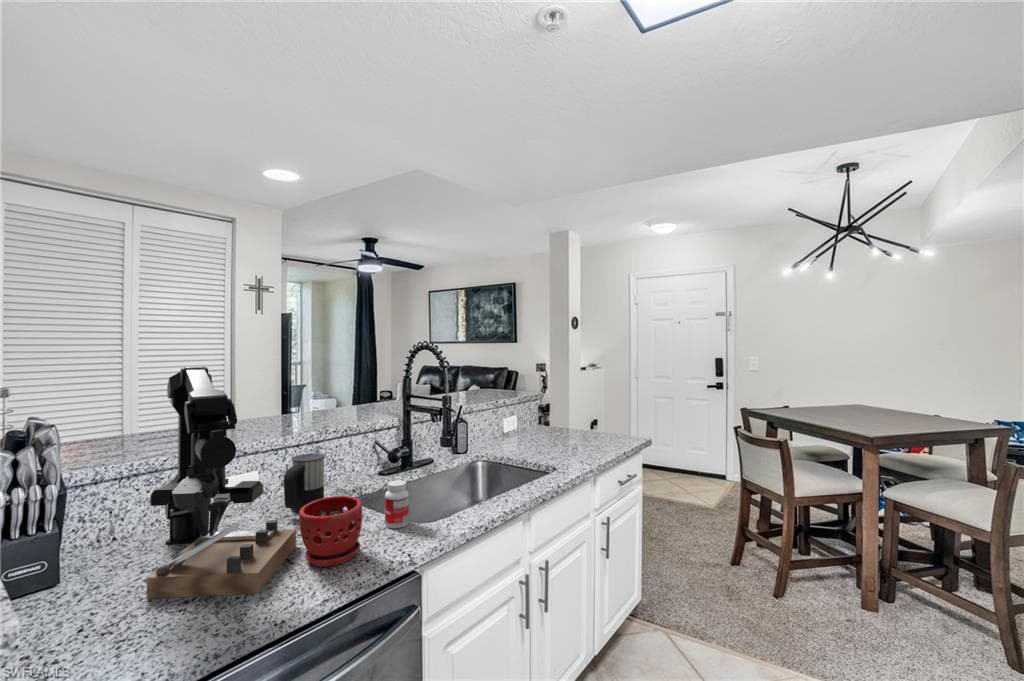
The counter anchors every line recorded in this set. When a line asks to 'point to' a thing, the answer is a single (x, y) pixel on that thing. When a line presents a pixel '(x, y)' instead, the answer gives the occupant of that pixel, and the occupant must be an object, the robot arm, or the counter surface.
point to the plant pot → (331, 530)
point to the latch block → (224, 566)
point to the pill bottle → (396, 505)
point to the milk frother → (304, 481)
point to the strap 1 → (203, 545)
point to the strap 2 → (239, 535)
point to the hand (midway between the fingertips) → (208, 535)
